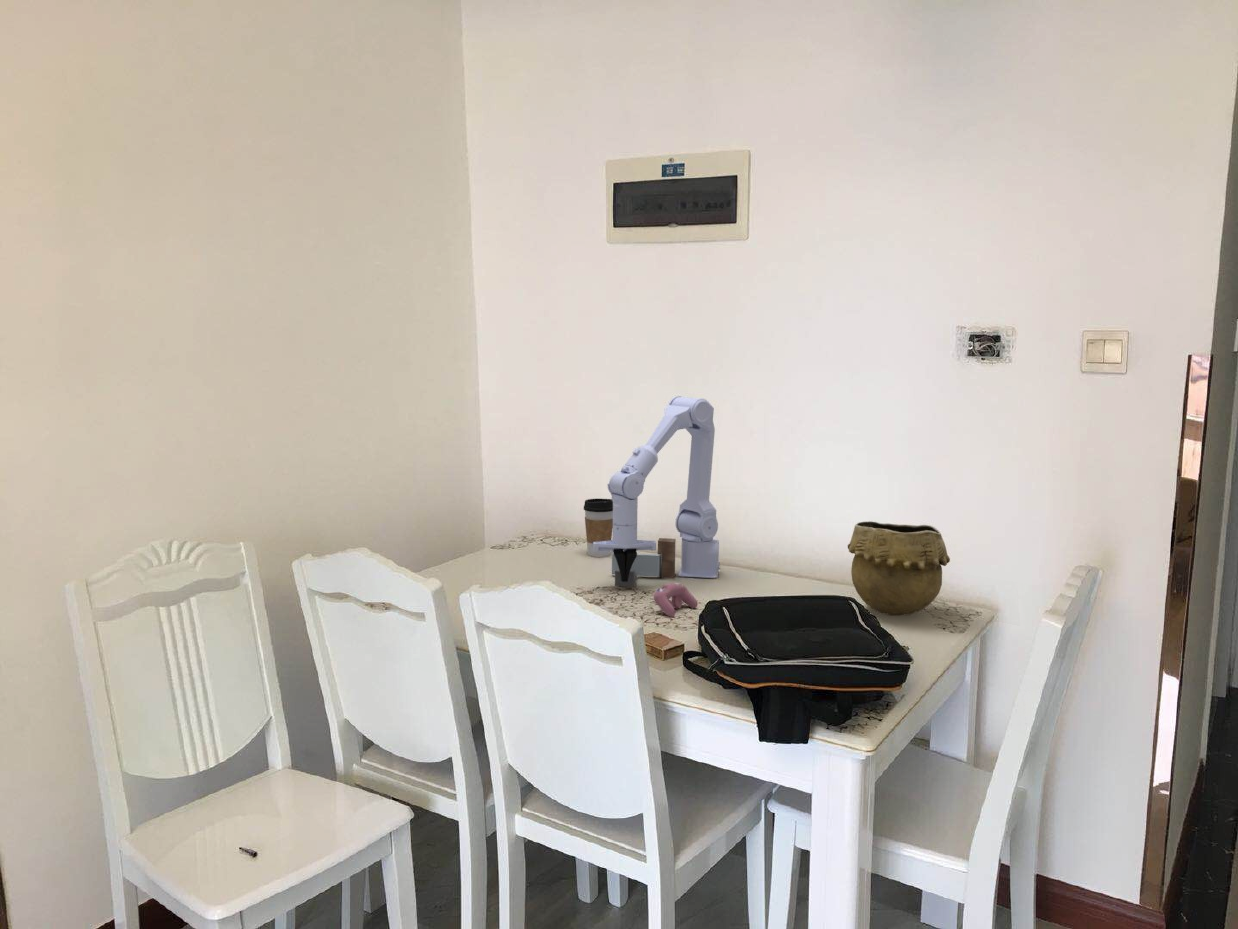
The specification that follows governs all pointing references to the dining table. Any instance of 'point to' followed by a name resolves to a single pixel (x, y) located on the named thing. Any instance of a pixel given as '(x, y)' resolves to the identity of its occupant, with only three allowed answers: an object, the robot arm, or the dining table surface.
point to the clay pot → (897, 566)
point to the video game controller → (673, 598)
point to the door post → (667, 557)
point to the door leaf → (642, 564)
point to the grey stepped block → (631, 579)
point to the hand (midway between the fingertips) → (624, 580)
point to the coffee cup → (598, 523)
